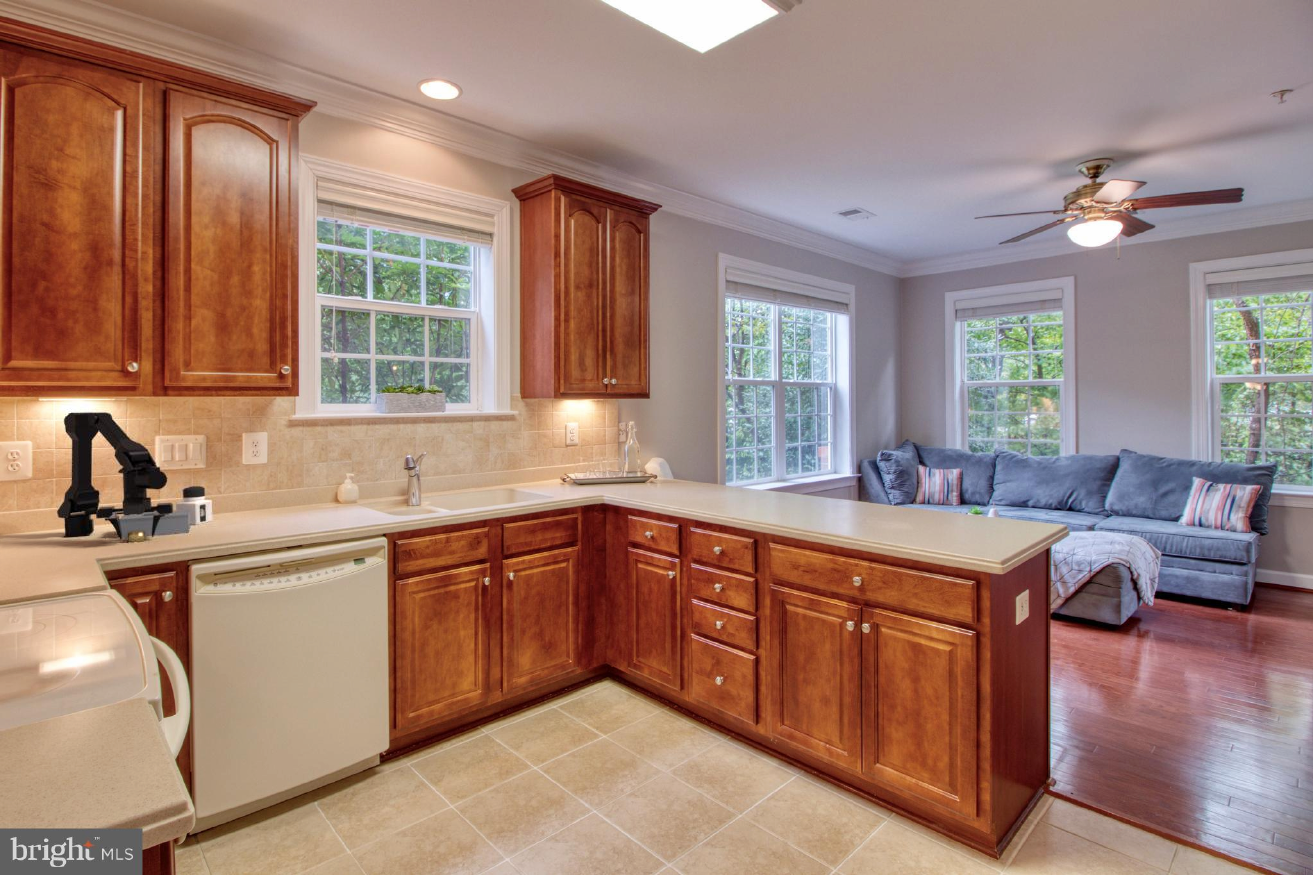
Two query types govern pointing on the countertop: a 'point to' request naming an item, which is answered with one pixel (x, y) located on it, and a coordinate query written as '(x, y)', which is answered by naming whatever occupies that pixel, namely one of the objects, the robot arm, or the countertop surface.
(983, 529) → the countertop surface
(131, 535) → the gold short cylinder
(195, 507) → the container
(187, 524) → the box
